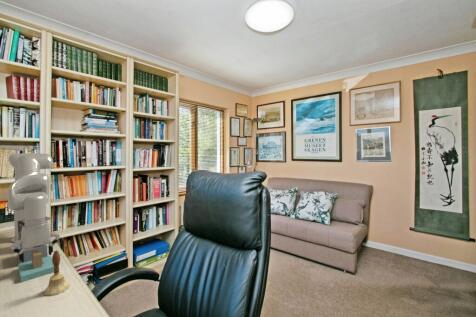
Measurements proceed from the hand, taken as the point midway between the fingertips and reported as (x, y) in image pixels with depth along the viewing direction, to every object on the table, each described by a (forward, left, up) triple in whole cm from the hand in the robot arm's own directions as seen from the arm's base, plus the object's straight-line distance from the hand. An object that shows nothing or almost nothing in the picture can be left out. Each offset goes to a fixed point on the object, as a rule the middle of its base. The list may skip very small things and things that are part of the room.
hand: (36, 257), depth 105 cm
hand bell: (+25, +4, -6) cm, 26 cm away
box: (-18, 0, -6) cm, 19 cm away
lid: (0, 0, -6) cm, 6 cm away
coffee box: (-35, 0, -6) cm, 36 cm away
